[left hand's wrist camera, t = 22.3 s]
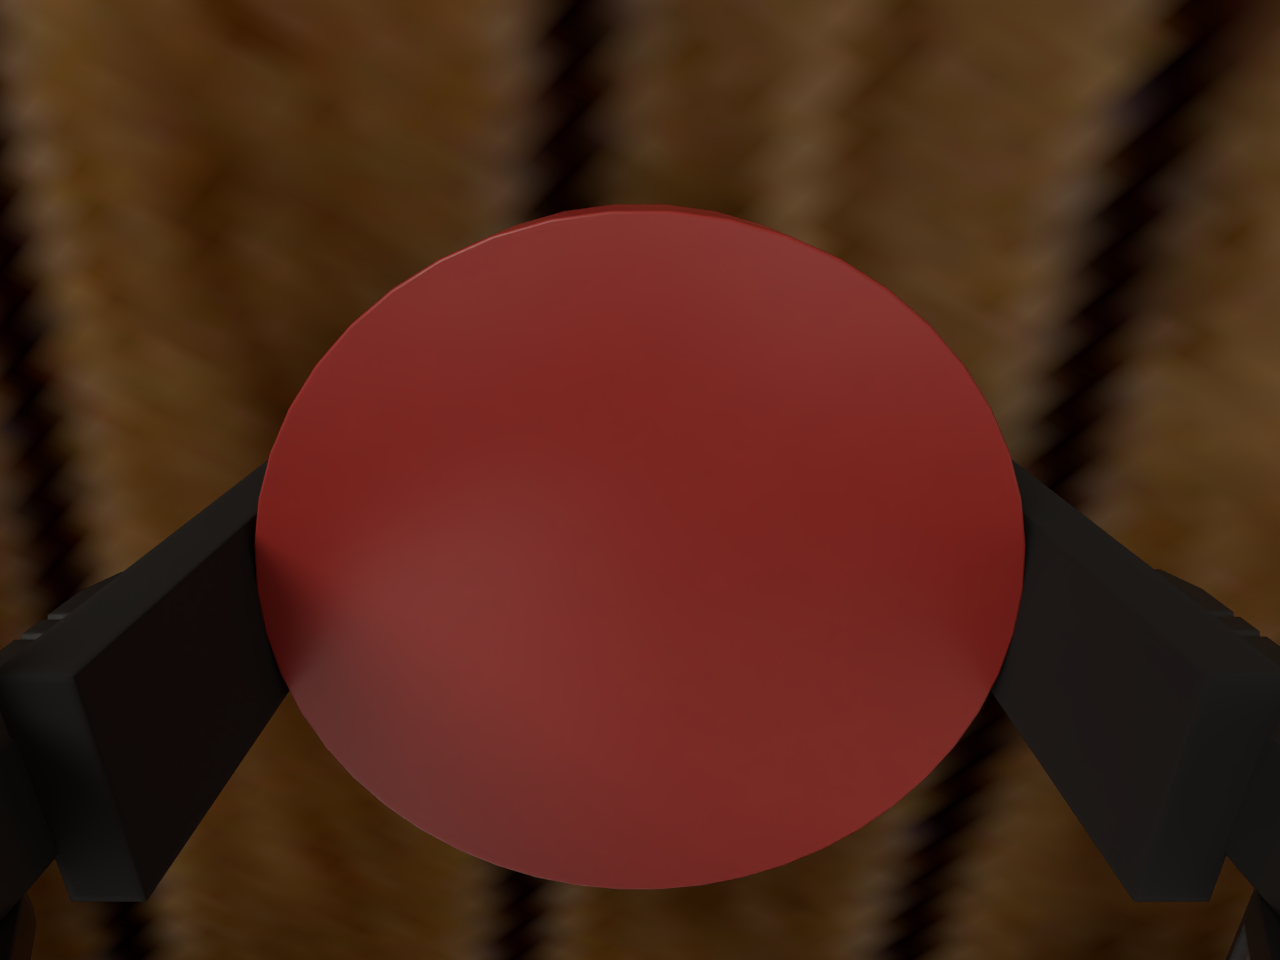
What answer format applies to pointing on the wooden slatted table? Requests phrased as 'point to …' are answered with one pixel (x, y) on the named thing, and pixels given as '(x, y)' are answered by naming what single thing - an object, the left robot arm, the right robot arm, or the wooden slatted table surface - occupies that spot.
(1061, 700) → the left robot arm
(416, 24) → the wooden slatted table surface
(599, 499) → the lid
